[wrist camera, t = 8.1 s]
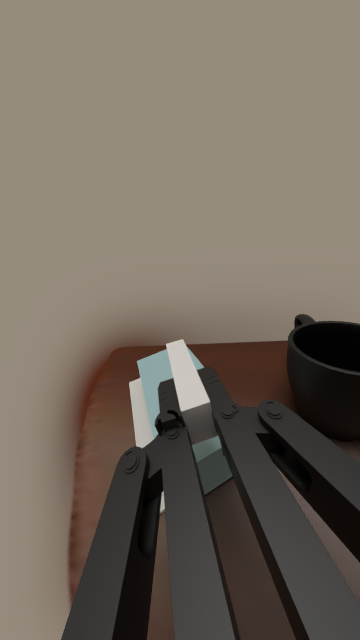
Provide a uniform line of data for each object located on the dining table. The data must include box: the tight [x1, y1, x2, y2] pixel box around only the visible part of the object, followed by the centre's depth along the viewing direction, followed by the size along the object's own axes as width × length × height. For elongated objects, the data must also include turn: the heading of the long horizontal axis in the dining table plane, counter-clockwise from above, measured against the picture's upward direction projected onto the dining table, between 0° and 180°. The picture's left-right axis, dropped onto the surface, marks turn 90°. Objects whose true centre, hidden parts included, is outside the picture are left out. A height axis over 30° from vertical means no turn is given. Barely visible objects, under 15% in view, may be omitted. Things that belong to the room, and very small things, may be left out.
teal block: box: [137, 346, 232, 494], centre depth 21 cm, size 8×5×16 cm
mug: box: [287, 314, 360, 440], centre depth 18 cm, size 8×12×10 cm
